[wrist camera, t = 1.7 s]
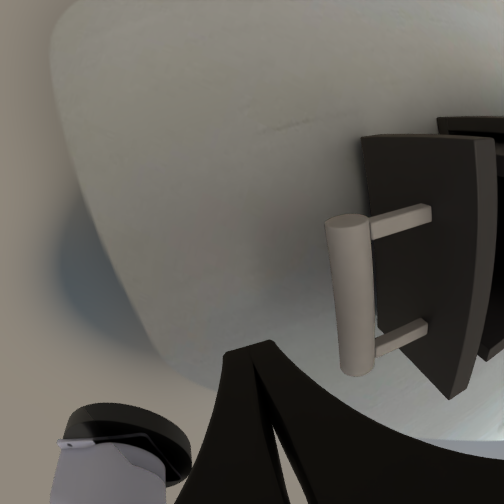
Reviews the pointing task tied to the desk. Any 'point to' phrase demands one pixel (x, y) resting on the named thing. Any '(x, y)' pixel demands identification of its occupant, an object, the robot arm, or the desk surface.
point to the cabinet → (472, 126)
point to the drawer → (423, 257)
